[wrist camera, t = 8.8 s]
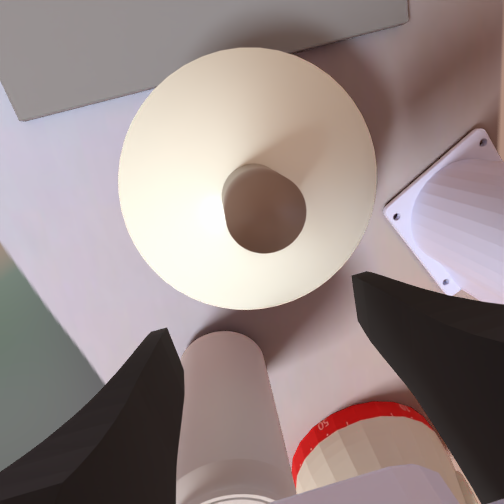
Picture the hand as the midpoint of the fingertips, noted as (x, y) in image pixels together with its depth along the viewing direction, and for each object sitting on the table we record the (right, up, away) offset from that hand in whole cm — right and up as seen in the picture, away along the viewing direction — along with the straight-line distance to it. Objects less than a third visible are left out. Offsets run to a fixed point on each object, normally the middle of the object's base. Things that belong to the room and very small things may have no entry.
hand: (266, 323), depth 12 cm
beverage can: (-3, -6, +13) cm, 15 cm away
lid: (-1, +6, +5) cm, 8 cm away
